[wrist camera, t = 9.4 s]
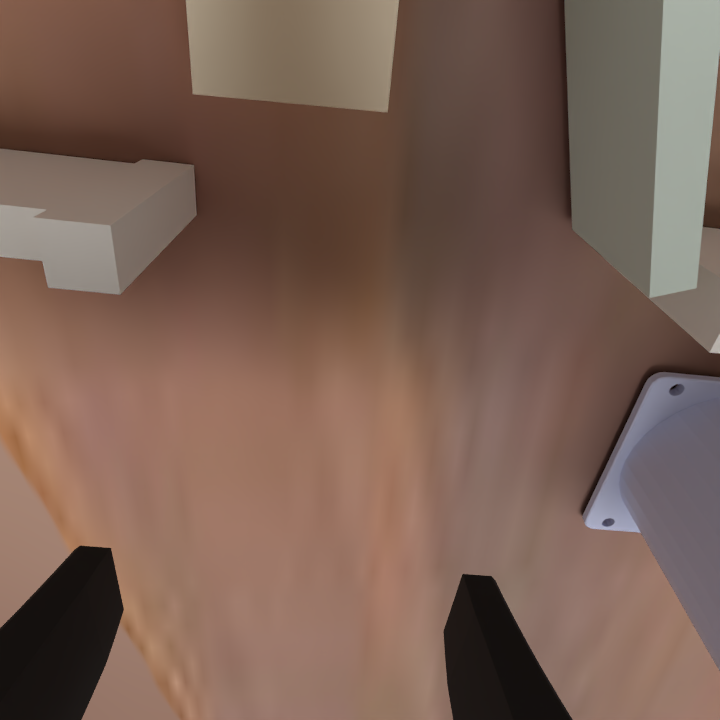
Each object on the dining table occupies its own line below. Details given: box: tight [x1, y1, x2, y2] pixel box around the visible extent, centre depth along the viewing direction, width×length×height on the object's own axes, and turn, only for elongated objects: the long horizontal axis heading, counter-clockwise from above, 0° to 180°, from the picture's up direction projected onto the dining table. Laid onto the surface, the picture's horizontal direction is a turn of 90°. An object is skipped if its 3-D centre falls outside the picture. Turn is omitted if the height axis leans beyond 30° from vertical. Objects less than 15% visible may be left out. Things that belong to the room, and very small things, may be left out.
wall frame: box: [0, 149, 720, 354], centre depth 14 cm, size 27×2×6 cm, turn 84°
